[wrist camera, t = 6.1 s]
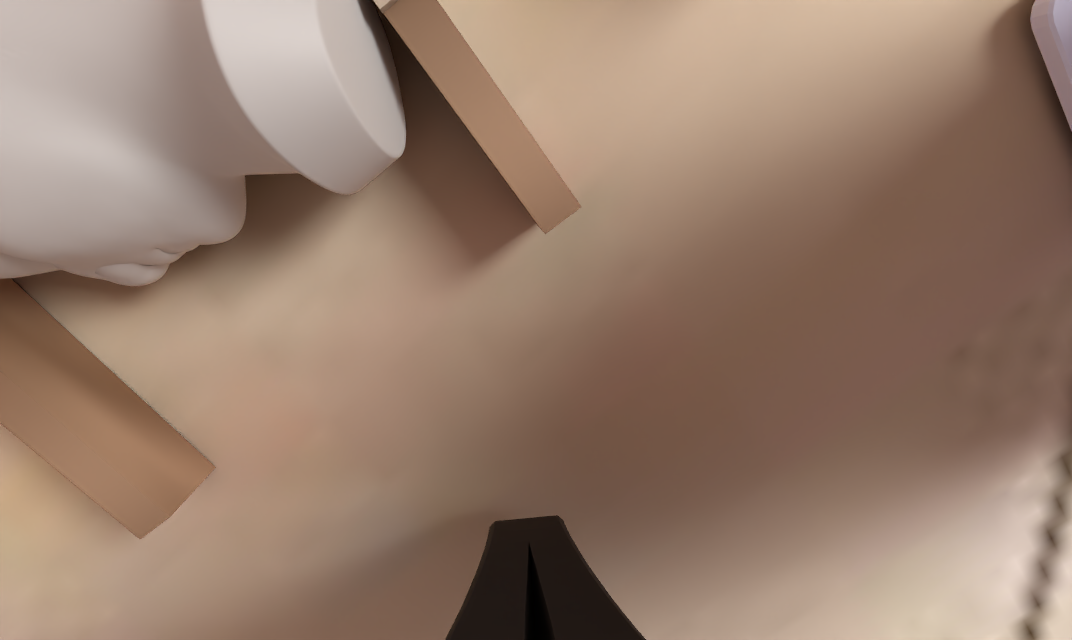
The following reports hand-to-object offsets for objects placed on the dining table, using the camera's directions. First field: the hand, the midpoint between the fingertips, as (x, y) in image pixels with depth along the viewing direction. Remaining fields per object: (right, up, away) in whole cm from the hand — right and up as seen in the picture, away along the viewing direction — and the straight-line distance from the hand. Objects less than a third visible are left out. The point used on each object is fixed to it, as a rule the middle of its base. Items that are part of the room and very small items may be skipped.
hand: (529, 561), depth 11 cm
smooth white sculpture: (-6, +8, -1) cm, 10 cm away
